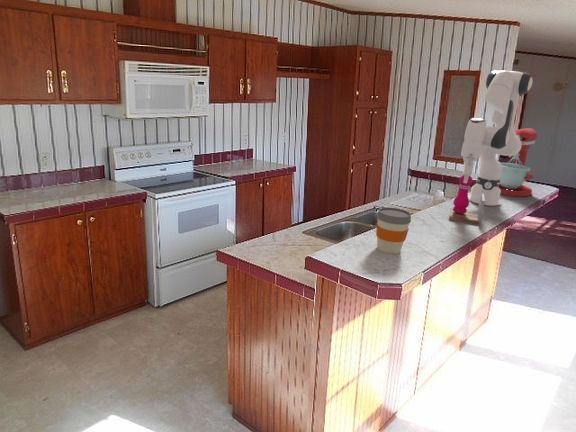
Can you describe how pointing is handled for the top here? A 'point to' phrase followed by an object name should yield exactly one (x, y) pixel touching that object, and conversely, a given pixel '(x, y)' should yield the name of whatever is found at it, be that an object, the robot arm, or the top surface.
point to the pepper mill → (462, 196)
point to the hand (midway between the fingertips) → (465, 181)
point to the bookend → (469, 214)
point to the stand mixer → (518, 167)
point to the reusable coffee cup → (392, 229)
